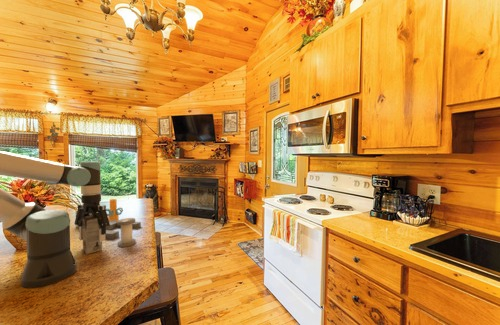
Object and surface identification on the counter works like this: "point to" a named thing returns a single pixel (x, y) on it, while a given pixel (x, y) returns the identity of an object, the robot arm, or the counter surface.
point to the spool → (126, 232)
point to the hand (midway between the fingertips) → (92, 240)
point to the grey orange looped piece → (113, 210)
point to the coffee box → (91, 234)
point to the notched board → (114, 224)
